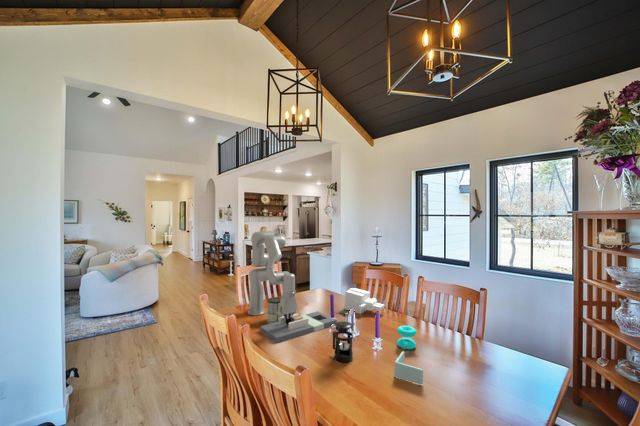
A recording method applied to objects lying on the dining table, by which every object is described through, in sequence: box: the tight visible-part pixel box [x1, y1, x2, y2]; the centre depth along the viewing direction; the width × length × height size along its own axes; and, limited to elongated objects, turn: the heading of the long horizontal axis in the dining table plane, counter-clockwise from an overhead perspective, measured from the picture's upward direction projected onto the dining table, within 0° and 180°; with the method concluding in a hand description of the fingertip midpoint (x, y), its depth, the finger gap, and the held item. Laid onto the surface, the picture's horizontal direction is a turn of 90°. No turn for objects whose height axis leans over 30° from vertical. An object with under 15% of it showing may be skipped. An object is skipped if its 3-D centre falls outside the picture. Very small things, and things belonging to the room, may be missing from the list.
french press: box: [332, 311, 354, 364], centre depth 143 cm, size 12×9×23 cm
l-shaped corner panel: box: [393, 350, 424, 385], centre depth 128 cm, size 12×12×8 cm
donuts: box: [396, 325, 417, 350], centre depth 156 cm, size 10×10×10 cm
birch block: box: [291, 313, 303, 322], centre depth 177 cm, size 6×6×5 cm
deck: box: [259, 311, 338, 344], centre depth 180 cm, size 20×45×7 cm, turn 129°
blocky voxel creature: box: [343, 287, 386, 315], centre depth 212 cm, size 15×25×28 cm
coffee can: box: [266, 296, 283, 324], centre depth 191 cm, size 10×10×14 cm
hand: (288, 324), depth 174 cm, fingers closed
